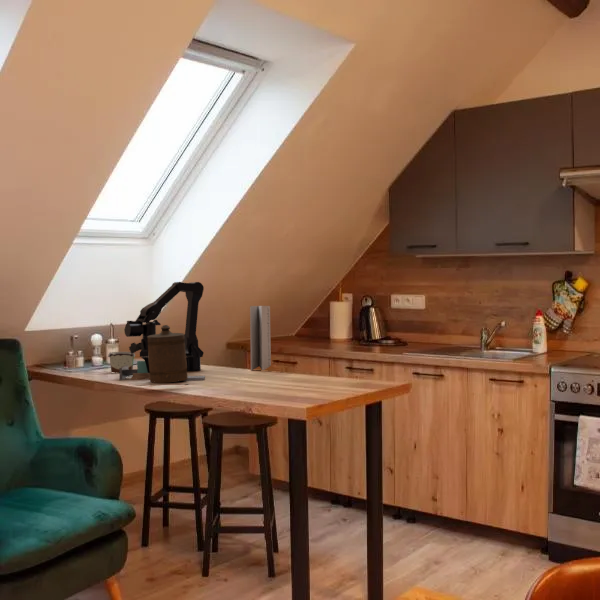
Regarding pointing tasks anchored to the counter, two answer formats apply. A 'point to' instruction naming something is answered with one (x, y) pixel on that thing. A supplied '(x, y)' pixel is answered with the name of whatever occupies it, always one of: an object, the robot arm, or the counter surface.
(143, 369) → the block
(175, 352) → the wooden container
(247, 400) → the counter surface
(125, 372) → the rack
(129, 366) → the food container
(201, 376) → the mat
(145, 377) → the board
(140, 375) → the offcut top
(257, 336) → the grey tall angular piece
